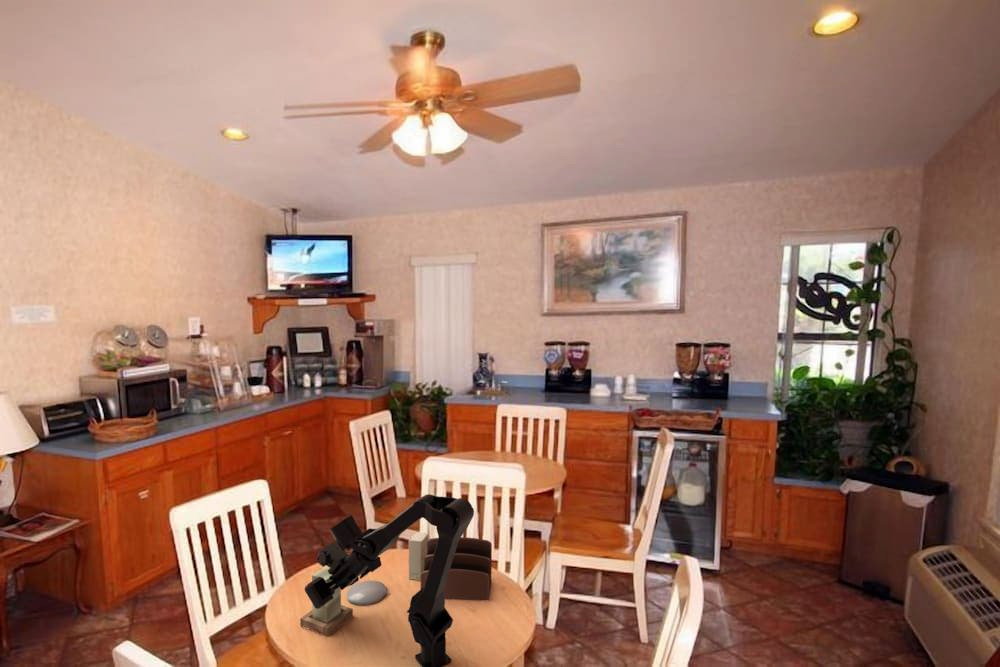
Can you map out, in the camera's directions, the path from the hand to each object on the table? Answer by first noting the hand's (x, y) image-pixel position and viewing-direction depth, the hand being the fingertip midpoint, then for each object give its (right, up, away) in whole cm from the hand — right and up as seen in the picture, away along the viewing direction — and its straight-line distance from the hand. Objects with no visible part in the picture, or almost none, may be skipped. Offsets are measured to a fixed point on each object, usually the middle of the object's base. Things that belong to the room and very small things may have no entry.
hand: (322, 594), depth 129 cm
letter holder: (+34, -7, +15) cm, 38 cm away
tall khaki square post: (+1, -7, 0) cm, 7 cm away
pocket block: (+1, -7, 0) cm, 7 cm away
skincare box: (+21, -6, +23) cm, 32 cm away
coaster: (+8, -6, +12) cm, 16 cm away
